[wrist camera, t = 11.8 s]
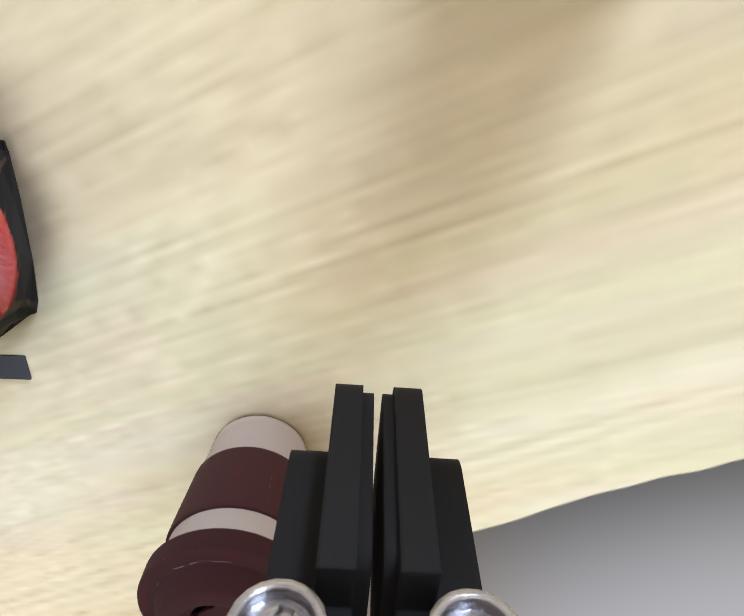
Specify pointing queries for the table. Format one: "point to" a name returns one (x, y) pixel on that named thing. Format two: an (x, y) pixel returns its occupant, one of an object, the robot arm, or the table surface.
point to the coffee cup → (222, 523)
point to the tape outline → (14, 367)
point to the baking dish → (14, 252)
